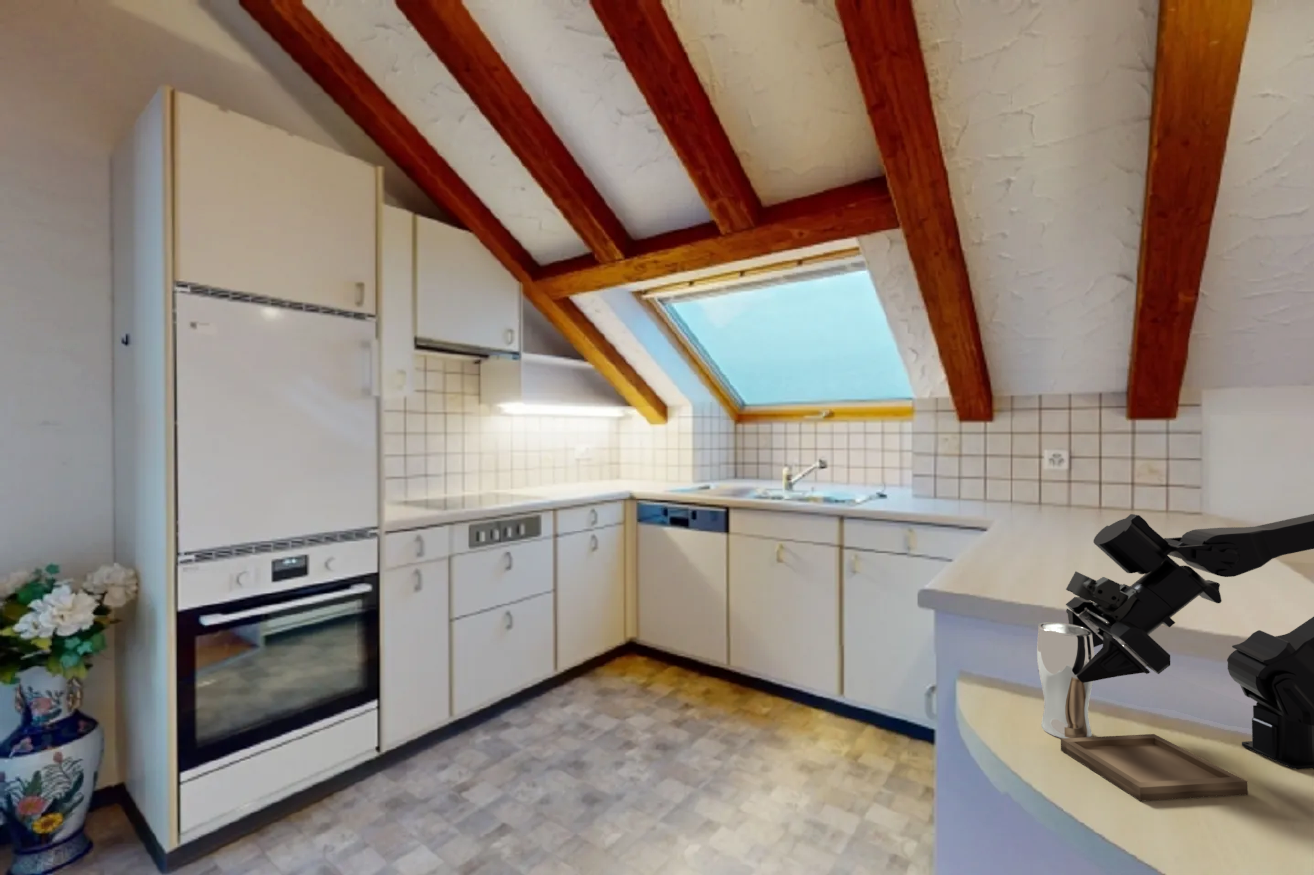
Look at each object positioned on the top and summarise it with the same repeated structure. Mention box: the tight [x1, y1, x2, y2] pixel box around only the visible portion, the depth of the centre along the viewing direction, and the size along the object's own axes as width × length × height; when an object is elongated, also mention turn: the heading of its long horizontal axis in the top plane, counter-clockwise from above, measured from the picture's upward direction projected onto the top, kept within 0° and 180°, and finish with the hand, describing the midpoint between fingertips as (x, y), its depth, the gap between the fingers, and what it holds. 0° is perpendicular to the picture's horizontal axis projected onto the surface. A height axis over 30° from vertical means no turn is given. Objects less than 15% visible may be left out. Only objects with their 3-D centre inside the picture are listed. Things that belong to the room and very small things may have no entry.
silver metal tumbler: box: [1036, 621, 1095, 739], centre depth 87 cm, size 7×7×15 cm
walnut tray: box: [1060, 733, 1249, 802], centre depth 76 cm, size 14×12×2 cm
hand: (1066, 668), depth 87 cm, fingers open, 9 cm apart
